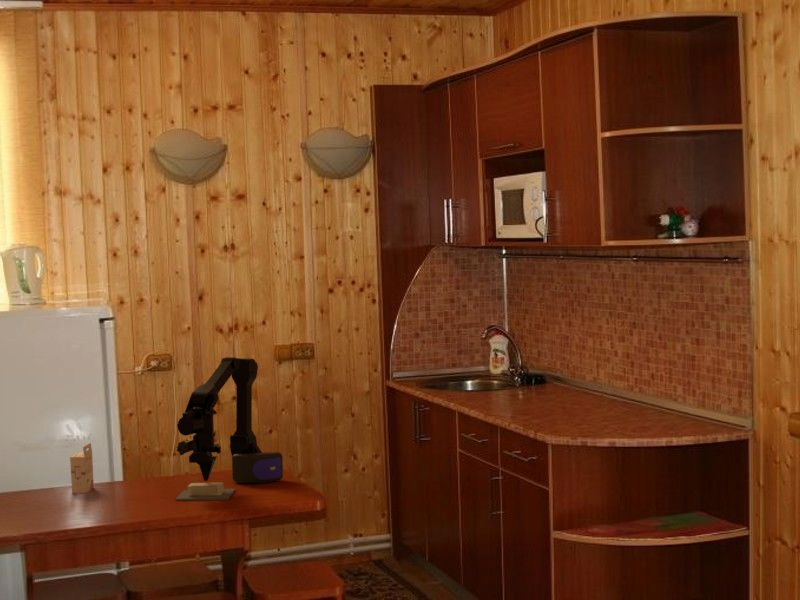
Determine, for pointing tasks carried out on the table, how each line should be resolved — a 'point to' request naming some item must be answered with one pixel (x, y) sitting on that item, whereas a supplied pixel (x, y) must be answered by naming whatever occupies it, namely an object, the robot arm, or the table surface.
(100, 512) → the table surface
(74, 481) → the ink cartridge box
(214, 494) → the block
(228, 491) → the mat
